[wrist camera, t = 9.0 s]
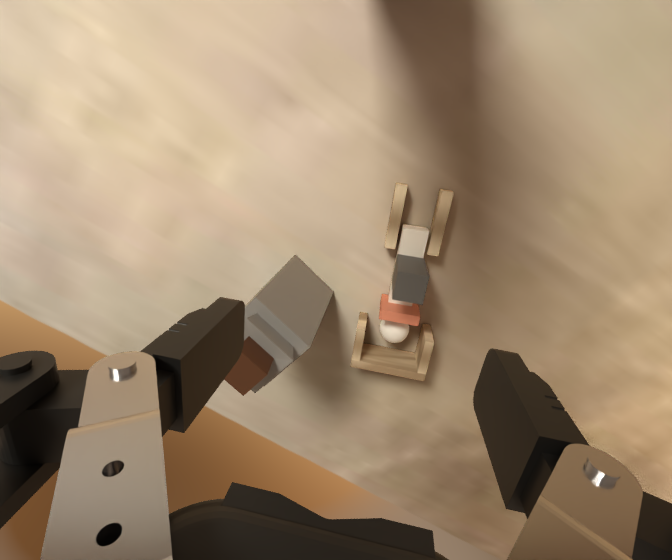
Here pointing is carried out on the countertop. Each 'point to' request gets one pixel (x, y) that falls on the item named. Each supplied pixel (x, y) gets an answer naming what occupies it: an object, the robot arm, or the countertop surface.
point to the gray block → (407, 278)
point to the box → (393, 354)
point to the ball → (393, 331)
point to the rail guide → (437, 222)
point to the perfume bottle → (279, 325)
